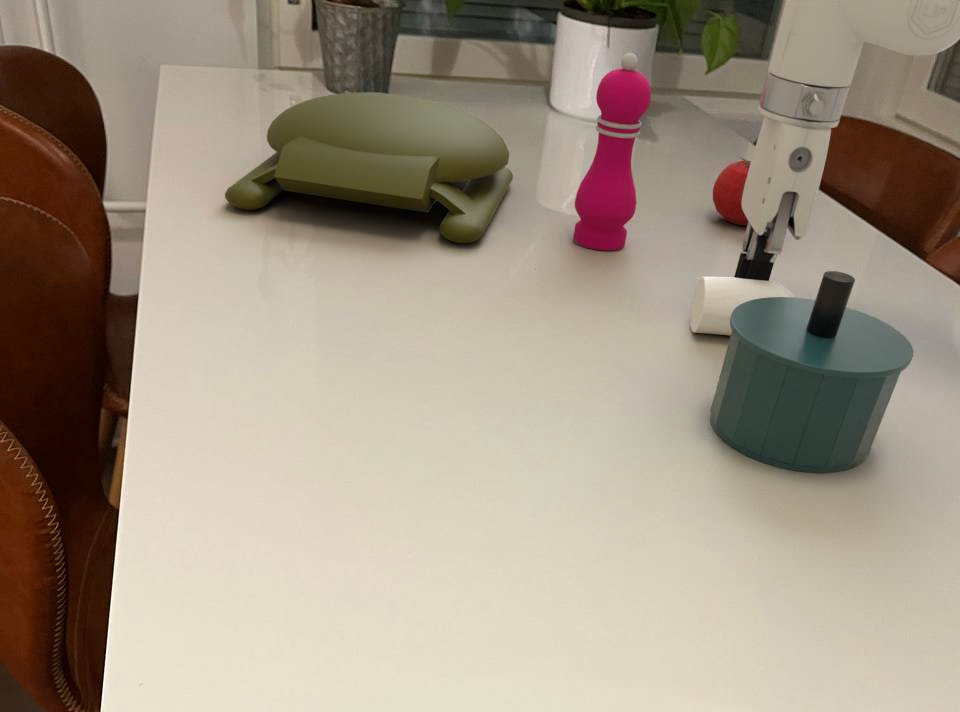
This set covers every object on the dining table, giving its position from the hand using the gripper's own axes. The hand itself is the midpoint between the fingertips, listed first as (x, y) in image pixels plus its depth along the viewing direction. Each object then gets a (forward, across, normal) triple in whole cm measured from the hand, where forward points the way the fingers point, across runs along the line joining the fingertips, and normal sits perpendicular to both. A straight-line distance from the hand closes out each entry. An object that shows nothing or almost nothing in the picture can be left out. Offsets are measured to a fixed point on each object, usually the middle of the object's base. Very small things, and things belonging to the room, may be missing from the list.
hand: (746, 295), depth 103 cm
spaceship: (+3, +32, +41) cm, 52 cm away
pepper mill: (+3, +20, +14) cm, 24 cm away
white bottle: (+3, -4, 0) cm, 5 cm away
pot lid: (-6, -25, 0) cm, 26 cm away
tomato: (+3, +34, -6) cm, 35 cm away
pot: (+3, -25, 0) cm, 25 cm away
